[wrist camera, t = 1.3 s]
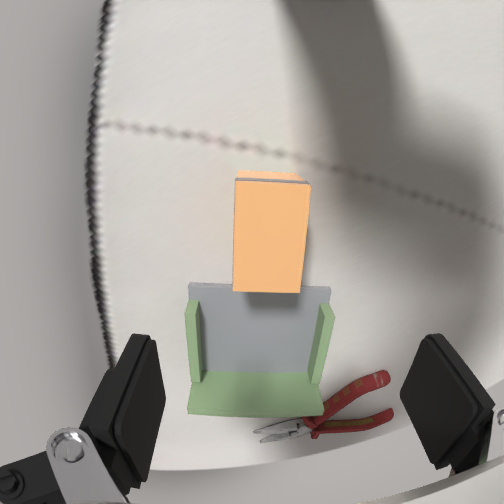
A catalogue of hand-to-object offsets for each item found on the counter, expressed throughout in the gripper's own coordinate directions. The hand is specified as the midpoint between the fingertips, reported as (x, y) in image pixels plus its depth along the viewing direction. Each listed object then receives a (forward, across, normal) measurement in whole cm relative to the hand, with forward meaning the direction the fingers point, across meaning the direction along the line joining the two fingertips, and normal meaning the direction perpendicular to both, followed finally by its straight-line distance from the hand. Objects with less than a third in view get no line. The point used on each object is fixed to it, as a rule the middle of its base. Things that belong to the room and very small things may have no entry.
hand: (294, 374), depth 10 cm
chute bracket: (+20, 0, +13) cm, 23 cm away
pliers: (+20, -11, +26) cm, 35 cm away
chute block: (+20, 0, 0) cm, 20 cm away
